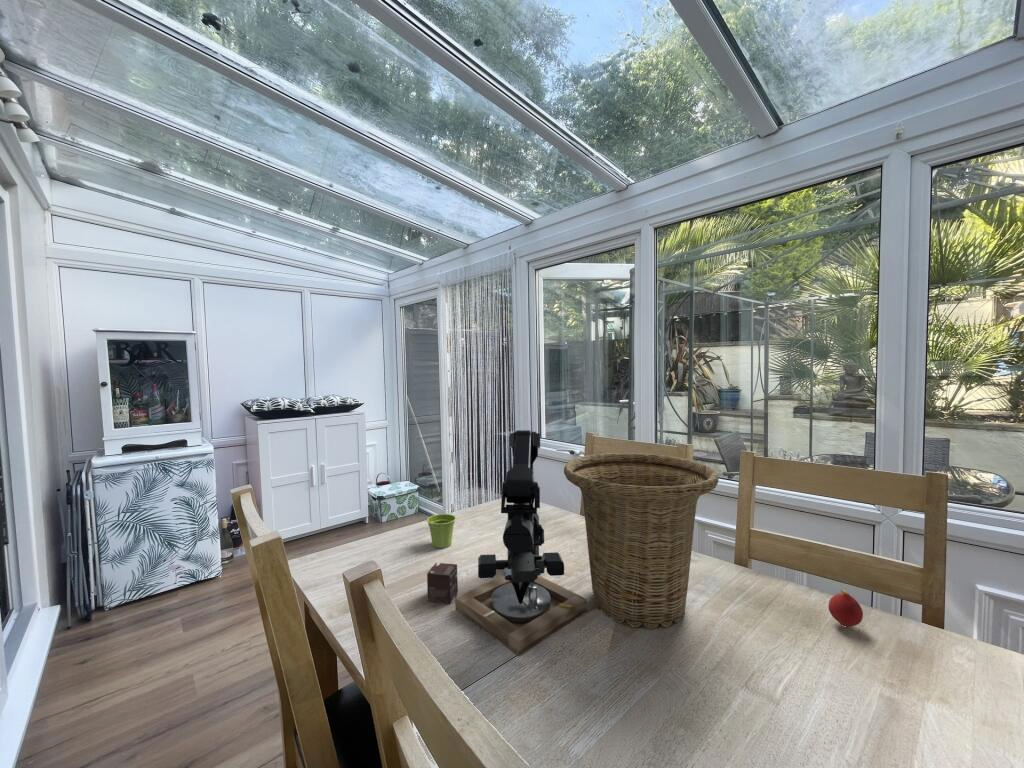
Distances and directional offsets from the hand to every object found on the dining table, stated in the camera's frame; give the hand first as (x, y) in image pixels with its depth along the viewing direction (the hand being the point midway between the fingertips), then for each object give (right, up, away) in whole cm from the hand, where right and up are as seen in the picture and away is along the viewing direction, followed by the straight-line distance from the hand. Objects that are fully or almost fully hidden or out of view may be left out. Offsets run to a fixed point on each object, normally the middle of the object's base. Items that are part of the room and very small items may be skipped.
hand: (520, 602), depth 93 cm
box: (-19, -5, +12) cm, 23 cm away
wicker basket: (+29, -5, +9) cm, 30 cm away
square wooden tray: (0, -5, +6) cm, 8 cm away
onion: (+71, -4, -2) cm, 71 cm away
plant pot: (-25, -4, +44) cm, 50 cm away
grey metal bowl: (0, -4, +6) cm, 7 cm away
